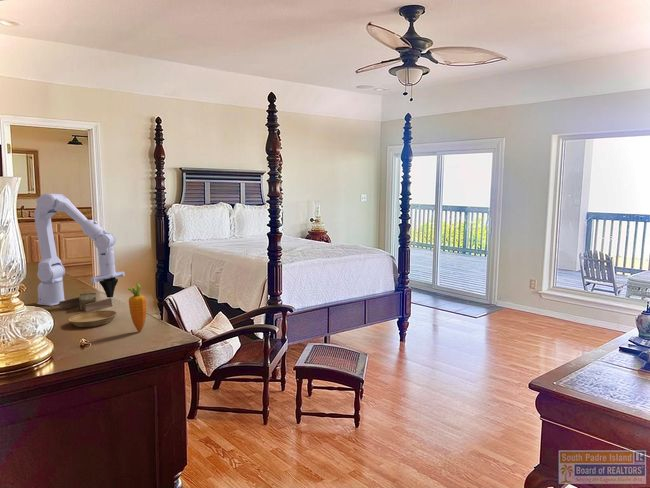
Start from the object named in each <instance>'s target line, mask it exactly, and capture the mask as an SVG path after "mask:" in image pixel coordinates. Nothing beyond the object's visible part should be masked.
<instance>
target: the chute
mask: <svg viewBox="0 0 650 488" xmlns="http://www.w3.org/2000/svg"><path fill="white" fill-rule="evenodd" d="M79 297H80V296H78V297H73V298H69V299H64V301H60V302H59V304H58V305H59V310H65V309H70V308H73V307H77V306H78V307H79V306H80V302H79ZM112 306H113V300H112V297H111V298H105V299H102V300H96V302H93V303H89V304H85V305H84V310H83V311H84V313H86V312H92V311H100V310H103V309H106V308H110V307H112Z"/></svg>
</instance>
